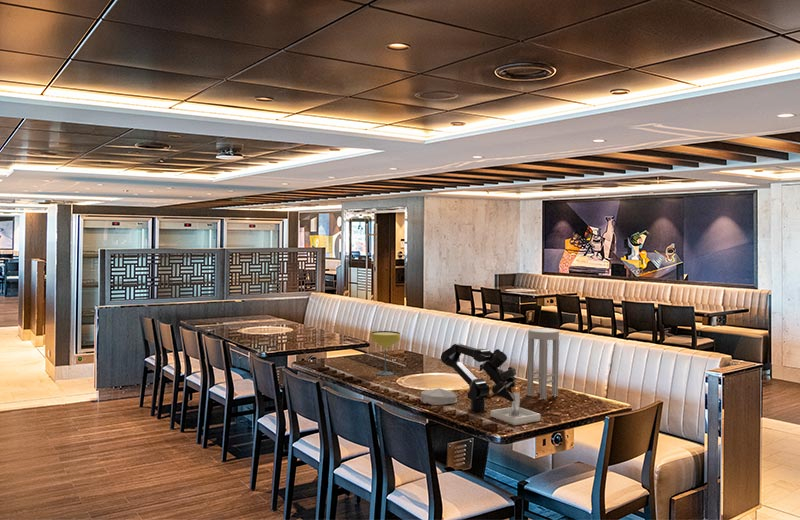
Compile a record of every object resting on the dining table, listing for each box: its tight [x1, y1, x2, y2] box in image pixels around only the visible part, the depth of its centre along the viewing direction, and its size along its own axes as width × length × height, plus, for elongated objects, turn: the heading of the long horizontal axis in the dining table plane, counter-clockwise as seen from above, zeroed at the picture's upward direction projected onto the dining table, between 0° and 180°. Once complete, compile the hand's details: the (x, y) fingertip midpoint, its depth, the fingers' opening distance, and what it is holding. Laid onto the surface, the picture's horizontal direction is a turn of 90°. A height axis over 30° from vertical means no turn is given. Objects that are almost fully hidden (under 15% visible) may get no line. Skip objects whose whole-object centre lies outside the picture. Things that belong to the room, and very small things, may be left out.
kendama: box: [488, 383, 496, 398], centre depth 345 cm, size 8×6×18 cm
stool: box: [526, 328, 560, 400], centre depth 344 cm, size 16×16×35 cm
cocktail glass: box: [370, 330, 401, 376], centre depth 395 cm, size 18×18×25 cm
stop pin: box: [509, 386, 522, 418], centre depth 298 cm, size 6×6×14 cm
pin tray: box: [490, 406, 542, 426], centre depth 299 cm, size 16×16×3 cm
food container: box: [419, 387, 458, 406], centre depth 331 cm, size 20×20×7 cm
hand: (516, 399), depth 298 cm, fingers open, 9 cm apart
